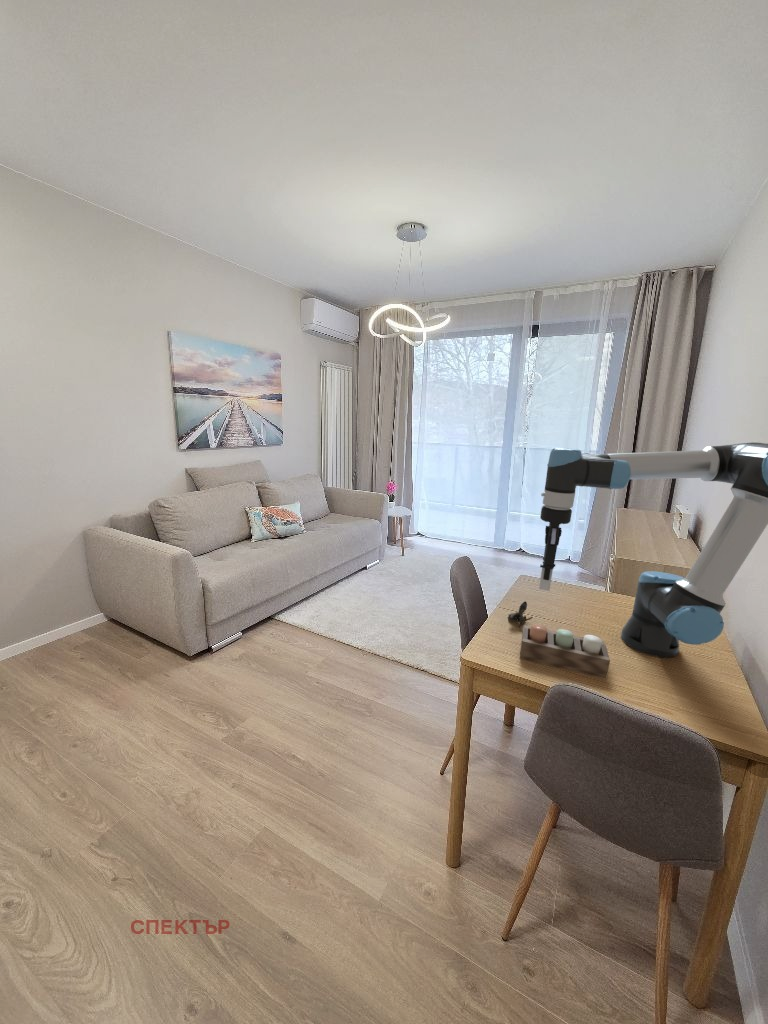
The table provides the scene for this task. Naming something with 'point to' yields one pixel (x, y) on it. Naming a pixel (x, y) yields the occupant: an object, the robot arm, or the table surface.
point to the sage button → (564, 638)
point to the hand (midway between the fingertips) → (544, 588)
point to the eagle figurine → (520, 614)
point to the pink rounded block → (538, 633)
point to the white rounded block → (591, 644)
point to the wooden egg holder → (565, 654)
